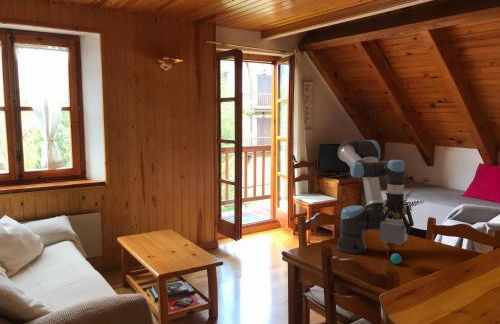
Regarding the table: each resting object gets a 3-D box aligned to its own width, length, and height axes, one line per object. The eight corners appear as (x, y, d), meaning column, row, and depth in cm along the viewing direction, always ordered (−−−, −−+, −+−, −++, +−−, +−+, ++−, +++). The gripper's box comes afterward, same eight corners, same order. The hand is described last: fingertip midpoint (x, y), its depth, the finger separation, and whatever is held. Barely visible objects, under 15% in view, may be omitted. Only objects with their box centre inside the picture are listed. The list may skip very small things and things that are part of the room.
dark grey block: (386, 235, 209) (387, 218, 208) (407, 239, 203) (408, 221, 202) (379, 240, 201) (380, 222, 200) (401, 244, 195) (401, 226, 194)
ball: (391, 250, 208) (392, 259, 209) (389, 256, 204) (389, 265, 206) (402, 252, 205) (402, 260, 207) (400, 258, 201) (400, 266, 203)
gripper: (369, 191, 203) (367, 236, 206) (418, 196, 189) (416, 244, 192) (374, 189, 209) (373, 232, 211) (422, 194, 195) (420, 240, 198)
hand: (393, 238), depth 202 cm, fingers closed on dark grey block, 10 cm apart
